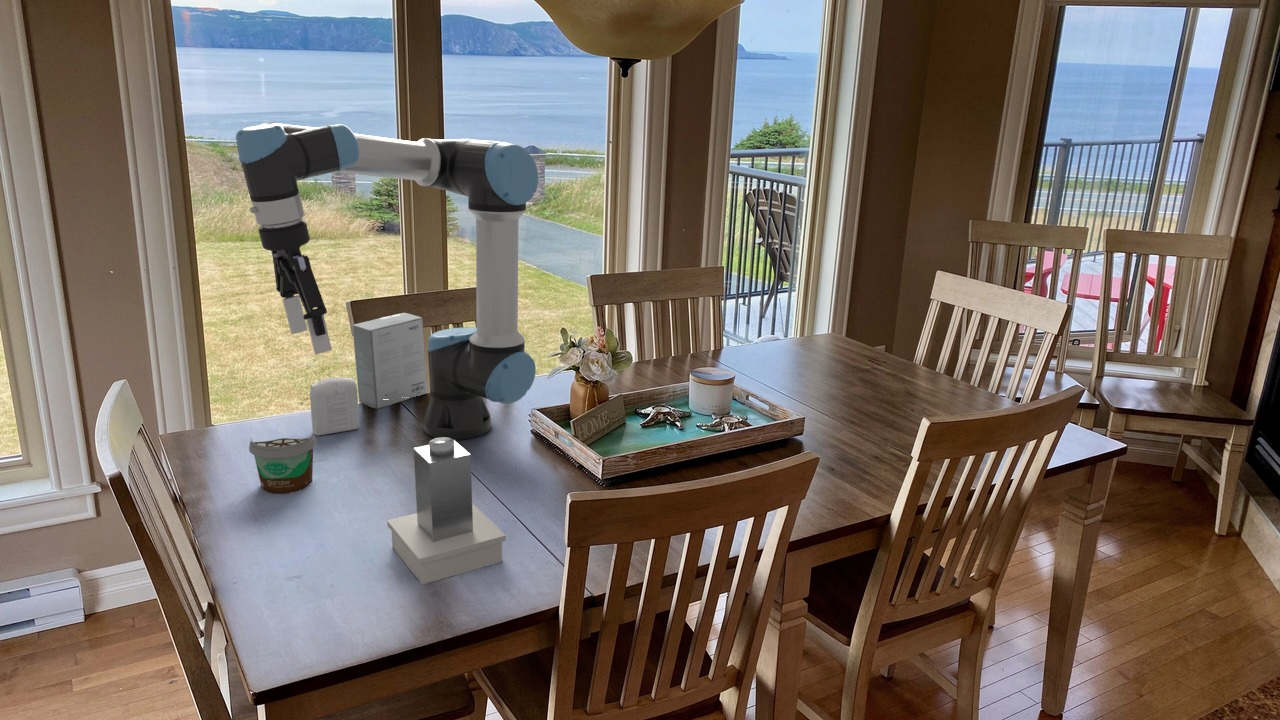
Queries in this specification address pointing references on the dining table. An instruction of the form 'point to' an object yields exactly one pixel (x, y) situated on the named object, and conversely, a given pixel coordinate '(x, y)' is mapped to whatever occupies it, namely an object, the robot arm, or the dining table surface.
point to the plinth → (446, 547)
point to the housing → (443, 489)
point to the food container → (284, 463)
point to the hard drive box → (390, 359)
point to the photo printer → (334, 405)
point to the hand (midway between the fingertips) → (311, 341)
